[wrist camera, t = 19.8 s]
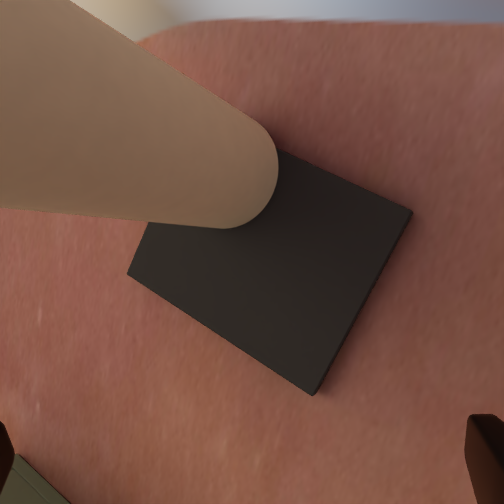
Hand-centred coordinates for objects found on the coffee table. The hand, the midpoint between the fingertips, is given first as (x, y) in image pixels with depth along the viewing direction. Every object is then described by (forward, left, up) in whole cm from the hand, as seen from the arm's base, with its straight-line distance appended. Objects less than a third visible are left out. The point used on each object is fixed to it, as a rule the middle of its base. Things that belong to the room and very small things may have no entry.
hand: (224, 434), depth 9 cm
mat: (+5, -2, -10) cm, 11 cm away
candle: (+7, -4, -10) cm, 13 cm away
